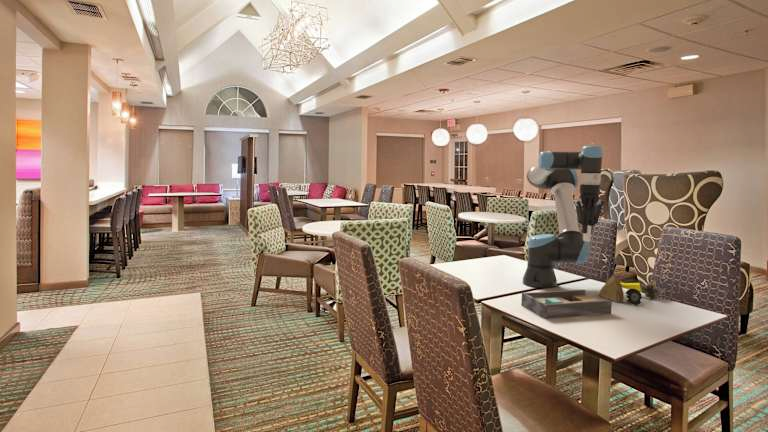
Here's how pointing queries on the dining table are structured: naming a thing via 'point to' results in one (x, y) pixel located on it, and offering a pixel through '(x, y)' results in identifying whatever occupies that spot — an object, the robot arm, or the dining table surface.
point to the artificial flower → (635, 295)
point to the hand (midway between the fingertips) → (586, 241)
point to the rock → (612, 290)
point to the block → (552, 301)
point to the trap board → (565, 304)
